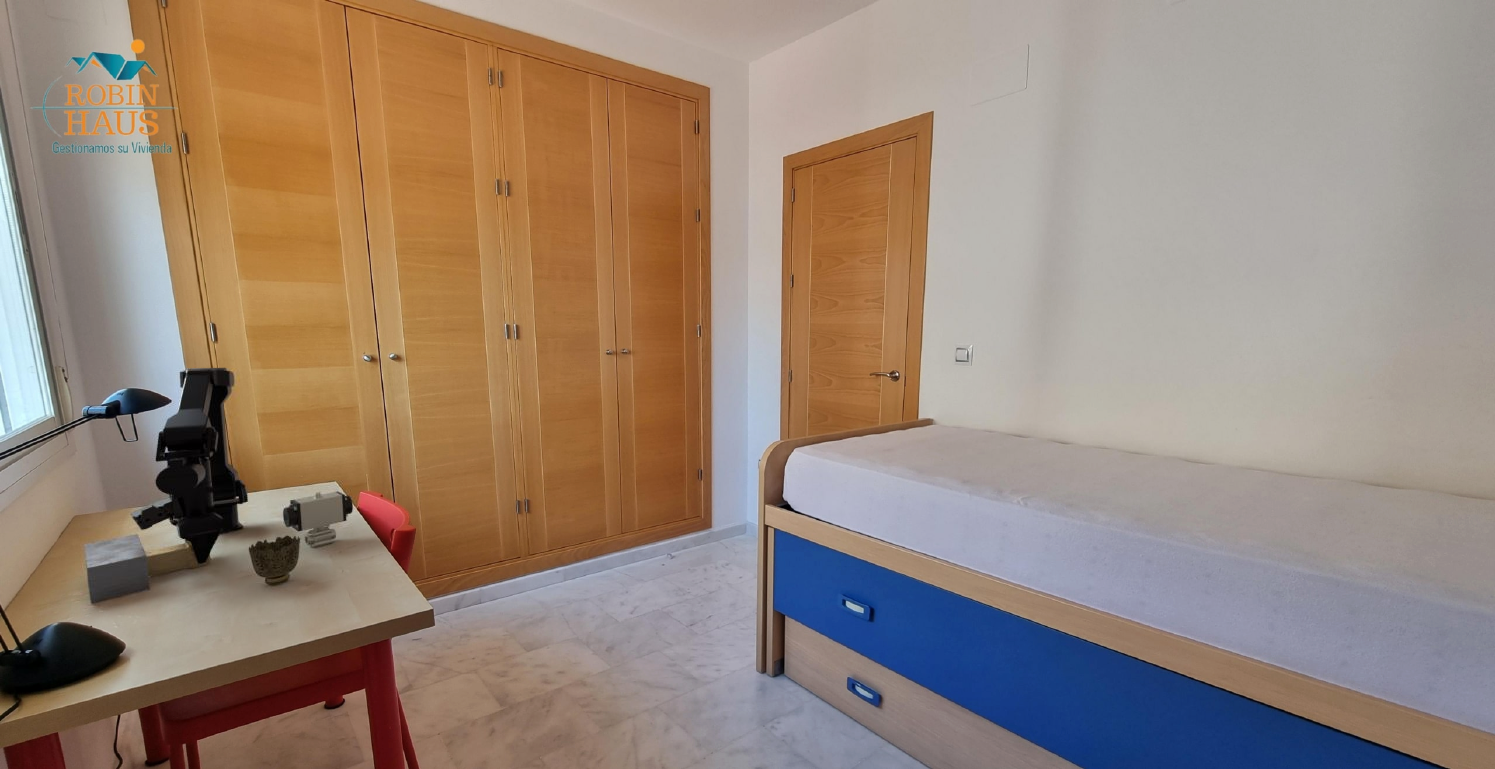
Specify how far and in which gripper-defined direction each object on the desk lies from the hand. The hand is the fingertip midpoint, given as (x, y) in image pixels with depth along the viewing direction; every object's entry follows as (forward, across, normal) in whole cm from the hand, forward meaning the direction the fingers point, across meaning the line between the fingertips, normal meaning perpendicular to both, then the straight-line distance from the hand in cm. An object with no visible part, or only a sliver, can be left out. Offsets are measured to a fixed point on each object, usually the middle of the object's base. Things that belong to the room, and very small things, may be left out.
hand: (198, 557), depth 112 cm
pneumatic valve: (+2, +6, +19) cm, 20 cm away
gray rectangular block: (+1, 0, -11) cm, 11 cm away
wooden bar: (+1, 0, -6) cm, 6 cm away
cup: (+2, +24, +8) cm, 25 cm away
